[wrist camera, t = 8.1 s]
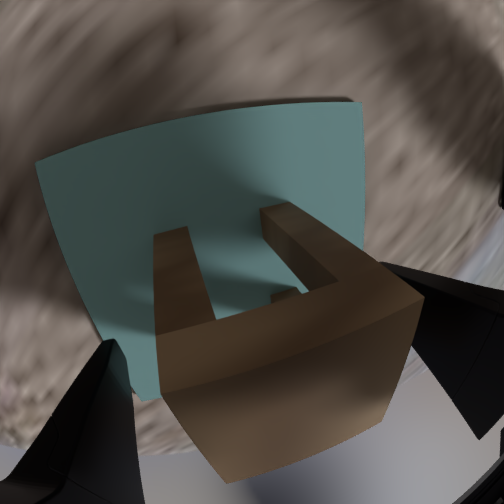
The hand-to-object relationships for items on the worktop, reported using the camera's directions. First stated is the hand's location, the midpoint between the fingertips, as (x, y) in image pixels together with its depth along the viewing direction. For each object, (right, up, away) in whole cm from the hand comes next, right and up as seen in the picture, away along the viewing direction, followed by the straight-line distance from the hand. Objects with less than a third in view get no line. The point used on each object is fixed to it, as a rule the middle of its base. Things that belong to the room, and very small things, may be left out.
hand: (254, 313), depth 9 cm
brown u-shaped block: (-1, +1, +2) cm, 3 cm away
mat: (-1, +1, +2) cm, 3 cm away
